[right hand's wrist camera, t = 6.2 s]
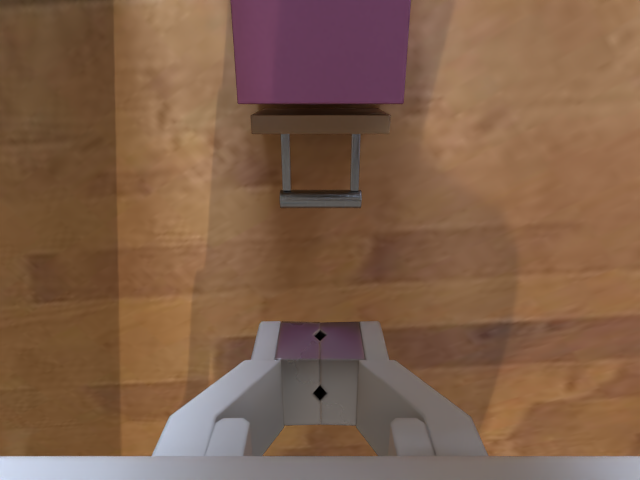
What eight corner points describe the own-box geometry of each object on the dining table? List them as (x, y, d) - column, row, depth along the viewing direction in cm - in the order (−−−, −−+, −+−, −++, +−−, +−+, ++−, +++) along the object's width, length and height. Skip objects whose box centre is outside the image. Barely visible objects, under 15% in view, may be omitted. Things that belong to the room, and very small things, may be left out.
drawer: (373, 192, 35) (384, 216, 29) (267, 192, 35) (256, 216, 29) (390, -135, 27) (409, -195, 21) (251, -134, 27) (232, -194, 21)
